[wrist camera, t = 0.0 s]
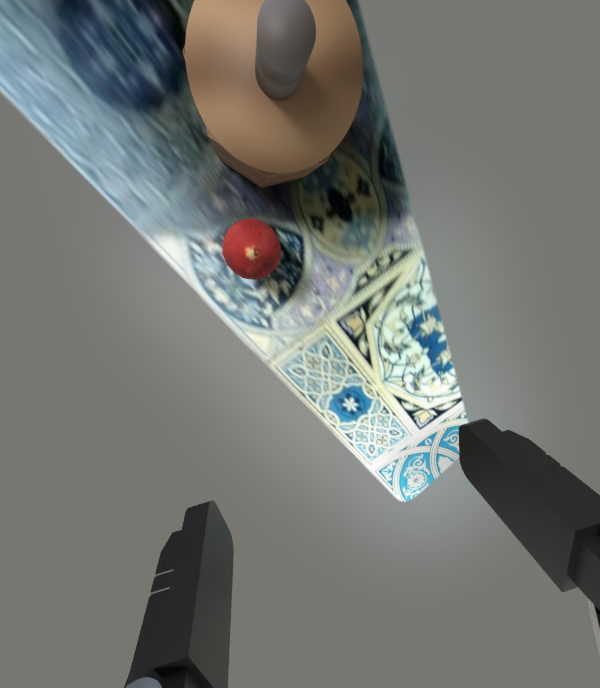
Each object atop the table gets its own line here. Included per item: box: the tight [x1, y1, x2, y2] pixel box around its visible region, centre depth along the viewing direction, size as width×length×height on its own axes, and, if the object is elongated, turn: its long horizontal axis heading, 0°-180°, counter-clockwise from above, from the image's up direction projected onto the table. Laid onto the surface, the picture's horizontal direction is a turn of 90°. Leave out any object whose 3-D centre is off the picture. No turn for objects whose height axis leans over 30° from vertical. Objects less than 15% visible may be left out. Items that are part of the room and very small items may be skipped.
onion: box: [223, 218, 281, 280], centre depth 31 cm, size 6×6×8 cm
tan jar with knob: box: [182, 0, 363, 188], centre depth 23 cm, size 12×12×16 cm
